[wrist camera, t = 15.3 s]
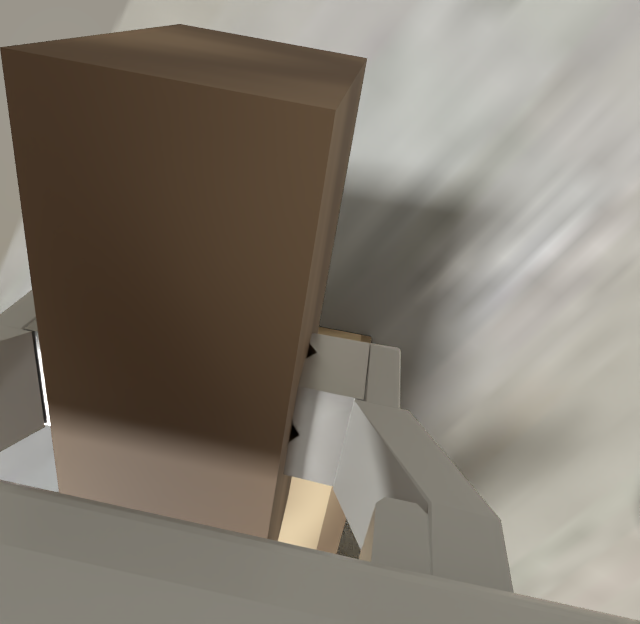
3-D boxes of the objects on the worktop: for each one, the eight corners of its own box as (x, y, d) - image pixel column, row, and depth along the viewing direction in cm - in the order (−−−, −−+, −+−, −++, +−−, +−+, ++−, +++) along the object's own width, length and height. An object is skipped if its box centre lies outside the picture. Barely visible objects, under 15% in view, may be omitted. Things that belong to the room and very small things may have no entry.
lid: (364, 444, 25) (362, 459, 24) (309, 643, 33) (307, 659, 32) (124, 387, 25) (115, 400, 24) (131, 597, 34) (124, 611, 33)
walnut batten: (366, 58, 9) (335, 109, 5) (288, 494, 14) (243, 690, 10) (179, 24, 9) (-1, 47, 5) (171, 469, 14) (80, 653, 10)
